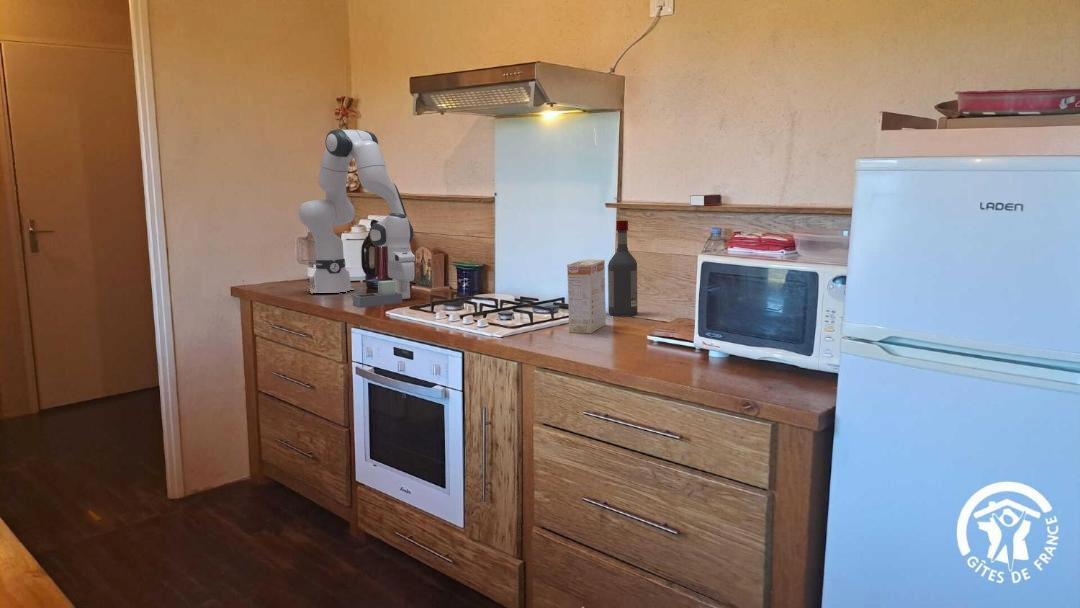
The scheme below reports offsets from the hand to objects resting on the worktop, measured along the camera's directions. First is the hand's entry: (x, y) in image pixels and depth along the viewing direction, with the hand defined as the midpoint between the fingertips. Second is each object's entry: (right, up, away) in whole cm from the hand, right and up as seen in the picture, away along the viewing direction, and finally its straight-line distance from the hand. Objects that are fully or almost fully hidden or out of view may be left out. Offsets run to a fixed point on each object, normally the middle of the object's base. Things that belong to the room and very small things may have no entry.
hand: (401, 291), depth 293 cm
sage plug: (-3, -5, -13) cm, 14 cm away
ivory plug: (0, -3, 0) cm, 3 cm away
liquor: (+81, -8, -49) cm, 95 cm away
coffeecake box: (+68, -12, -74) cm, 101 cm away
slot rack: (-6, -5, -15) cm, 17 cm away
